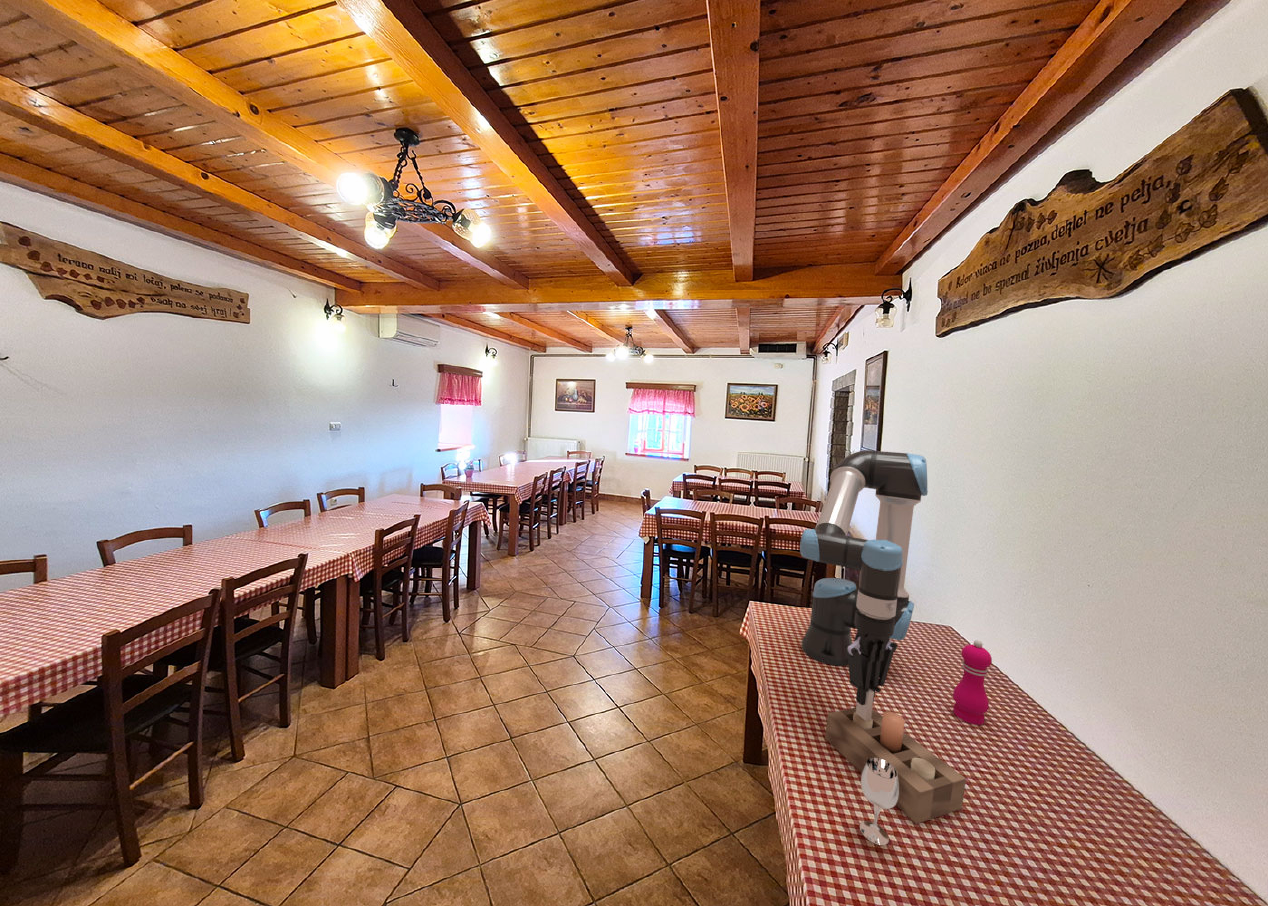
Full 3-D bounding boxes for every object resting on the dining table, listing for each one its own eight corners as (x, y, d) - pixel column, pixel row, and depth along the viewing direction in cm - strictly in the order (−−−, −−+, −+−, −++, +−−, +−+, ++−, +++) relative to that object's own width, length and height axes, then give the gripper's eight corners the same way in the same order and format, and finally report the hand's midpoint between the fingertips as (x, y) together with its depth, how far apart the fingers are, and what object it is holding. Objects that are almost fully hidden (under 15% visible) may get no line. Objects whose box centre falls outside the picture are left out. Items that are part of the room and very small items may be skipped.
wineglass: (848, 818, 80) (856, 755, 79) (879, 818, 80) (886, 755, 79) (868, 849, 74) (876, 781, 73) (900, 849, 74) (909, 781, 74)
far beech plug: (846, 738, 99) (849, 713, 99) (859, 735, 101) (862, 710, 100) (860, 750, 96) (863, 724, 95) (873, 747, 97) (876, 721, 97)
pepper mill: (993, 729, 108) (1004, 650, 106) (959, 723, 109) (970, 645, 108) (976, 710, 115) (986, 636, 113) (945, 705, 116) (955, 631, 115)
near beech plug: (903, 788, 86) (907, 759, 86) (917, 784, 88) (921, 756, 87) (921, 805, 83) (925, 774, 82) (936, 800, 84) (940, 770, 84)
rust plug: (875, 740, 93) (878, 713, 92) (889, 737, 94) (892, 710, 93) (891, 753, 89) (895, 725, 89) (905, 750, 90) (908, 722, 90)
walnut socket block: (824, 738, 100) (827, 713, 100) (865, 729, 104) (868, 705, 104) (916, 824, 79) (920, 792, 79) (961, 808, 84) (965, 778, 83)
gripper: (866, 623, 90) (854, 733, 92) (913, 618, 95) (900, 723, 96) (838, 607, 97) (827, 710, 99) (882, 603, 102) (871, 701, 104)
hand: (863, 716), depth 98 cm, fingers closed
